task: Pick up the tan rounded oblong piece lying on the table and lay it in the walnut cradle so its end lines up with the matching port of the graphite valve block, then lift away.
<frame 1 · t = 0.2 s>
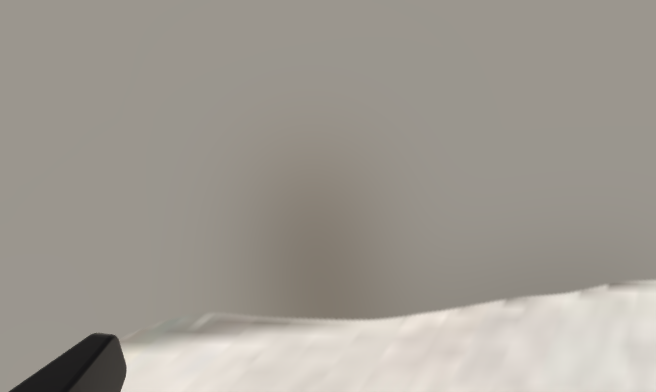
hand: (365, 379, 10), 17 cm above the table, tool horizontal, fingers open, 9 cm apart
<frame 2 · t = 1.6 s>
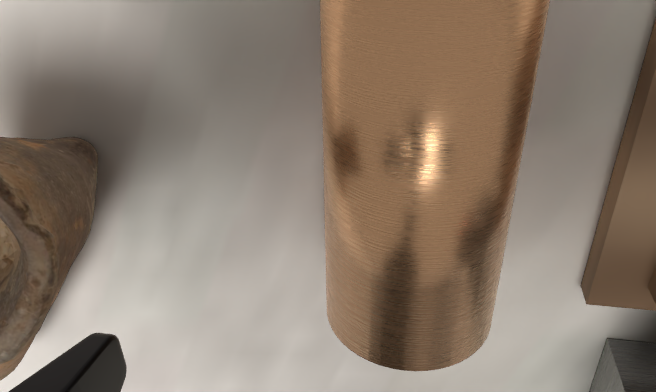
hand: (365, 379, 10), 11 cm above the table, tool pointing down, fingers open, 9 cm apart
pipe: (51, 213, 24), on the table
tan rounded oblong piece: (400, 114, 19), on the table, tilted 14°
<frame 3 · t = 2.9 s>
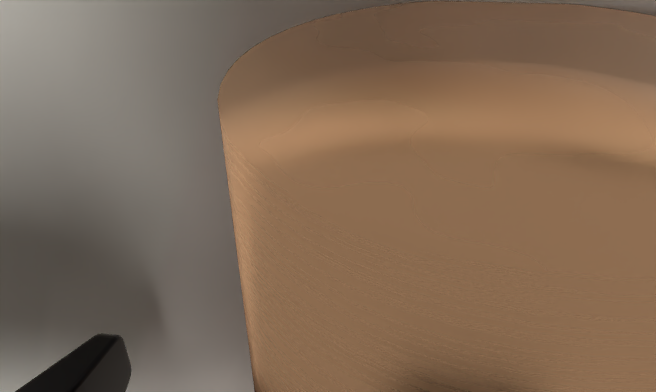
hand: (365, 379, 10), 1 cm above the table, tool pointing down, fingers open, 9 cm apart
tan rounded oblong piece: (372, 337, 11), on the table, tilted 32°, touching gripper
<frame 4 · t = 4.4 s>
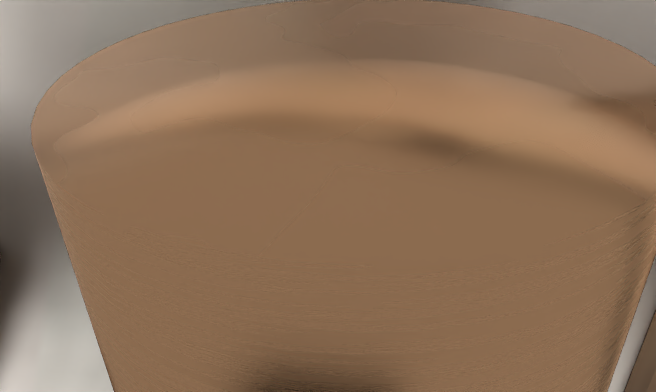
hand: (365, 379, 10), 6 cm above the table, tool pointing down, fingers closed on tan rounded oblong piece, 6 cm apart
tan rounded oblong piece: (373, 324, 11), point 4 cm above the table, touching gripper
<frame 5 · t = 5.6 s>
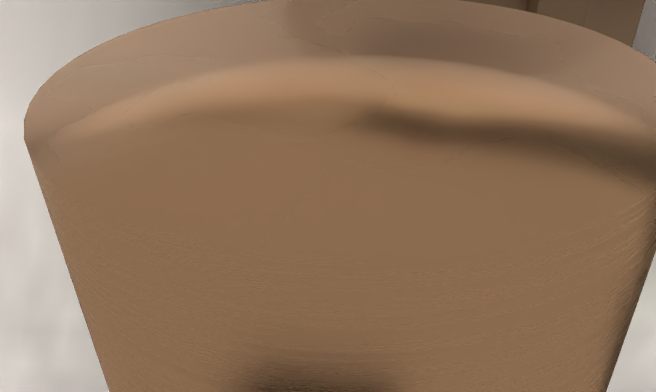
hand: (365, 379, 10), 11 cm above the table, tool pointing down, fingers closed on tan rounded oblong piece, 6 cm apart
pipe cradle: (437, 120, 19), on the table
tan rounded oblong piece: (371, 323, 11), point 10 cm above the table, touching gripper
when the fingers open (4 cm above the table, at t = 7.8 s): tan rounded oblong piece drops 1 cm, resting on pipe cradle.
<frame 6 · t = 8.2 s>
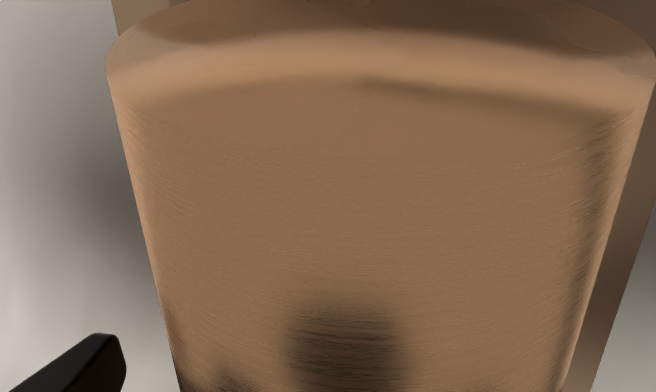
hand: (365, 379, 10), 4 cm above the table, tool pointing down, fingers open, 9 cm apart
pipe cradle: (385, 233, 13), on the table
tan rounded oblong piece: (377, 282, 12), point 2 cm above the table, touching pipe cradle
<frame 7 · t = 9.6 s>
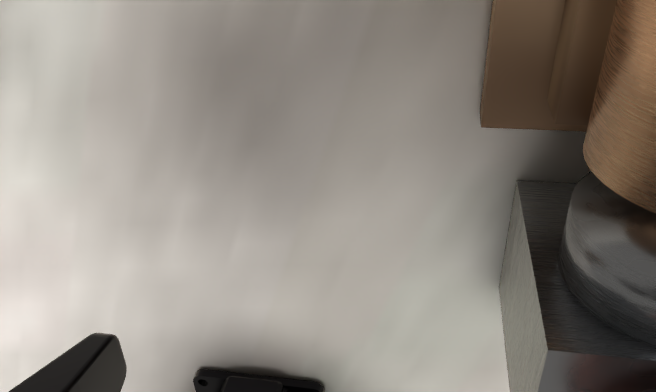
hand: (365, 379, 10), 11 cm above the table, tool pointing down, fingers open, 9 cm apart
valve block: (607, 244, 21), on the table
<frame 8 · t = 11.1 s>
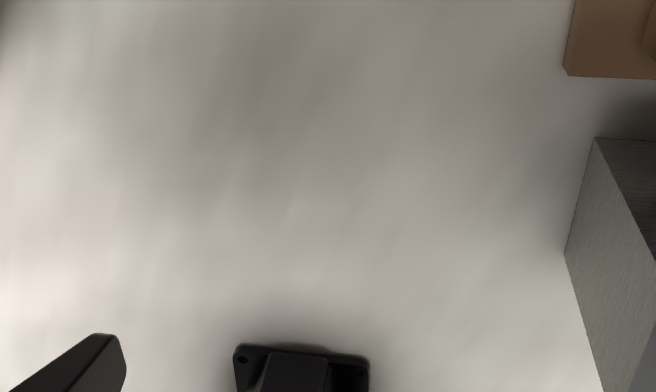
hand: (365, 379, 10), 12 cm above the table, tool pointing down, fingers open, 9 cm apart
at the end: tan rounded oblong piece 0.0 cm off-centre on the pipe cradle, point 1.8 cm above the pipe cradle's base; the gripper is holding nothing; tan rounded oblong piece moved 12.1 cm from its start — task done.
